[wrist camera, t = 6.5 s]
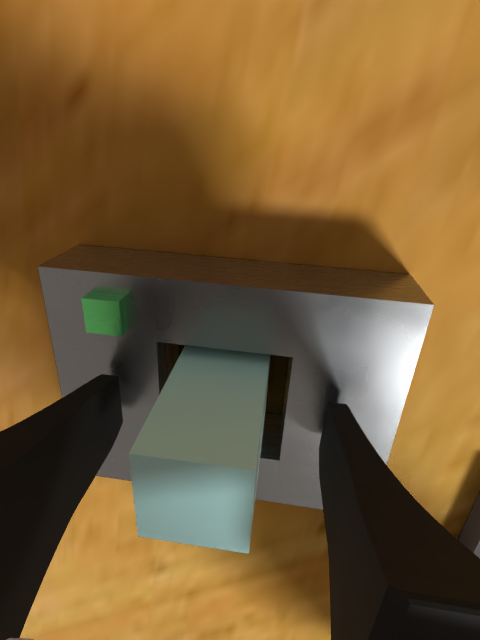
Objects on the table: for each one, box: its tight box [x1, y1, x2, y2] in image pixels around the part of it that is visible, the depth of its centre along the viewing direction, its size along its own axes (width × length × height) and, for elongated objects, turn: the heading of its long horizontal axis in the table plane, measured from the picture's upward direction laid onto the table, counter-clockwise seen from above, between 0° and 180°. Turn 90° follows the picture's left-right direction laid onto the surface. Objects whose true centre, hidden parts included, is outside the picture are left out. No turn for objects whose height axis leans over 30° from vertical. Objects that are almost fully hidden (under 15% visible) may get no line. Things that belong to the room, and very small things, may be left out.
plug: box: [129, 345, 271, 554], centre depth 13 cm, size 3×3×7 cm
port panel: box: [38, 245, 434, 510], centre depth 15 cm, size 12×9×3 cm
